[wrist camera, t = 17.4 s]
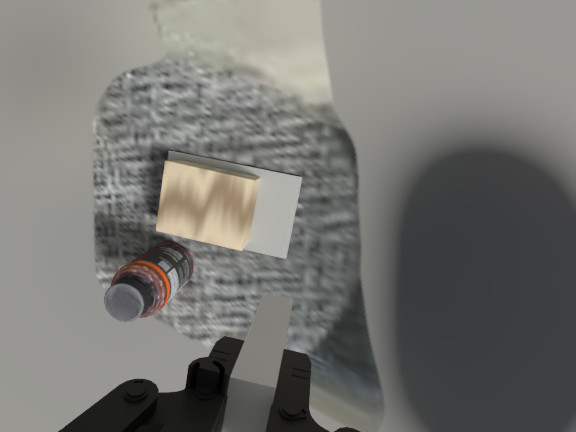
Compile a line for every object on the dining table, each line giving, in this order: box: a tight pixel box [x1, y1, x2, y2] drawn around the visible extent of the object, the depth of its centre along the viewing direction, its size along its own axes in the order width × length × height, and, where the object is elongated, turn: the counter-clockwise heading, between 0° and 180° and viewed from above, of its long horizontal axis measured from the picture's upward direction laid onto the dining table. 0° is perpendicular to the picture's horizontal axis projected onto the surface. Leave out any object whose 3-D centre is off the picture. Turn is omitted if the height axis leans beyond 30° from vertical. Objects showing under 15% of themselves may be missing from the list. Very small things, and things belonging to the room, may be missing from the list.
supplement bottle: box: [104, 243, 193, 322], centre depth 39 cm, size 6×6×11 cm
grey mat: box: [168, 150, 302, 259], centre depth 42 cm, size 10×16×1 cm, turn 79°
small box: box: [156, 159, 261, 251], centre depth 40 cm, size 8×4×10 cm
